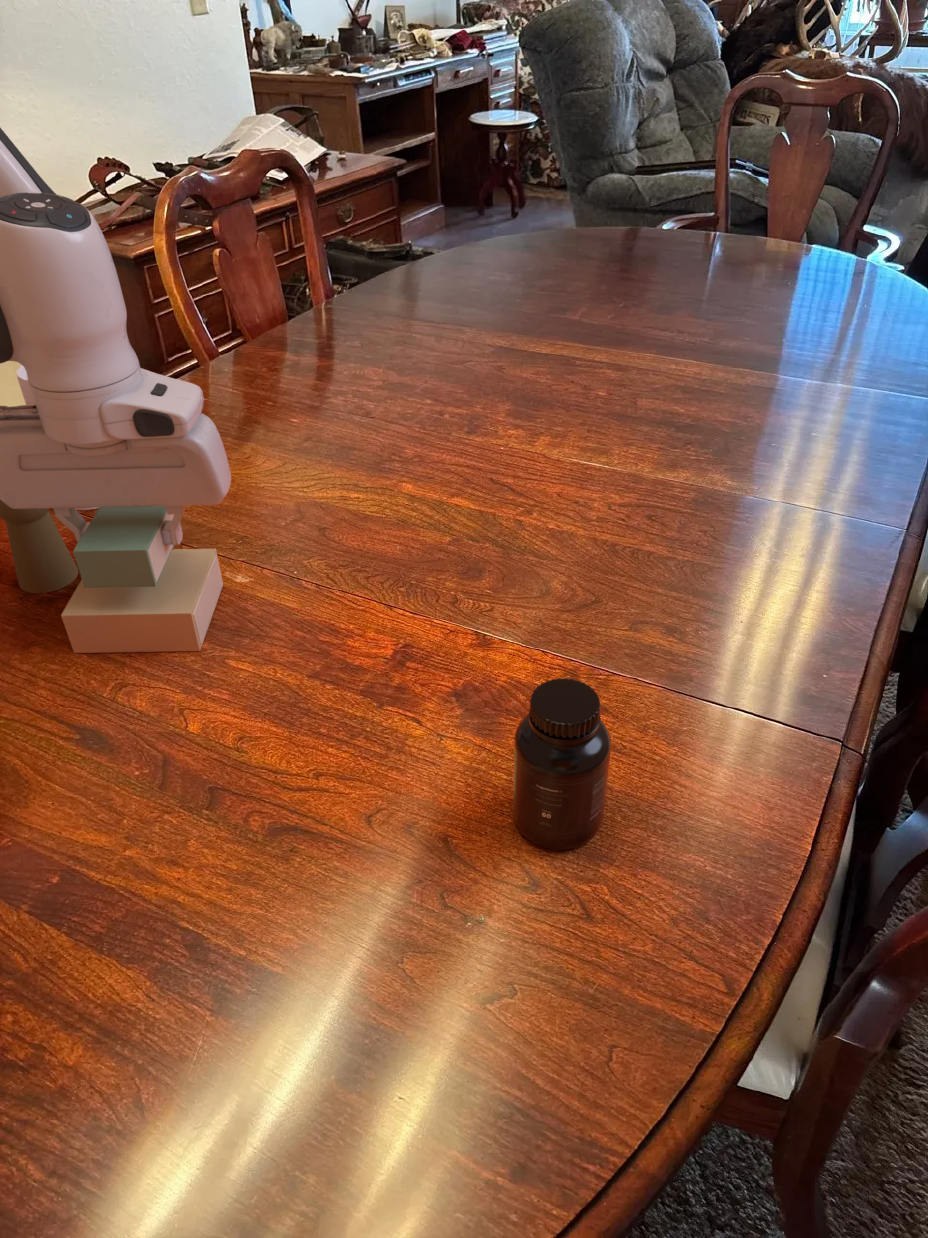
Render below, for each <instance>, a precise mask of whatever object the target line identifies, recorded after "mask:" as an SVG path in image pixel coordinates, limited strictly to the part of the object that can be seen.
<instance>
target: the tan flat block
mask: <svg viewBox="0 0 928 1238" xmlns="http://www.w3.org/2000/svg"><path fill="white" fill-rule="evenodd" d="M221 571H222V570H221V566H220V562H219V556H218V553H217V548H175V549H174V548H173V550H172V552H171V554H170V556H169V559H168V561H167V563H166V565H165V567H164V570H163V572H162V574H161V576H160V579H159V581H158V583H157V585H156V586H155V587H106V588H85V587H84V584H83V581H82V578H81V580H80V581H79V583H78V585H77V586H76V588H75V590H74V592H73V593H72V595H71V597H70V599H69V600H68V602H67V604H66V606H65V608H64V609H63V611H62V613H61V614H60V617H61V620H62V623H63V626H64V629H65V631H66V634H67V637H68V640H69V643H70V645H71V649H72V652H73V653H74V654H100V653H101V654H103V653H105V654H107V653H109V654H110V653H157V652H158V653H160V652H161V653H165V652H166V653H169V652H200V651H201V649H202V648H203V647H202V646H203V644H204V642H205V638H206V635H207V633H208V630H209V628H210V625H211V621H212V618H213V616H214V613H215V609H216V608H217V604H218V601H219V598H220V596H221V592H222V591H223V588H224V581H223V576H222V575H223V574H222V572H221Z"/></svg>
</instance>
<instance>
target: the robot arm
mask: <svg viewBox="0 0 928 1238" xmlns="http://www.w3.org/2000/svg"><path fill="white" fill-rule="evenodd" d="M26 158H27V157H25V156H24V154H23V153H22V152H21V151H20V150H19V148H18V147H17V146H16V145H15V144H14V142H13V141H12V140H11V139H10V137H9V136H8V135H7V134H6V132H5V130H3V129H2V127H0V364H4V363H7V362H16V363H18V364H20V366H22V365H23V367H24V368H25V370H26V373H27V378H28V382H29V386H30V389H31V392H32V395H33V398H34V401H35V404H36V405H26V404H23V405H14V406H7V405H0V500H1V501H3V502H4V503H5V504H6V505H7V506H9V507H10V508H12V509H43V508H49V509H53V512H54V516H55V518H56V519H57V520H58V521H59V522H60V523H62V524H63V525H64V526H65V527H66V528H67V529H68V530H70V532H71V533H73V534H74V537H75V540H76V543H77V544H78V542H79V540H80V539H81V537H82V535H83V534H84V532H85V531H86V529H87V527H88V526H89V524H90V522H91V521H87V520H86V519H85V518H84V516H82V515H81V513H80V512H78V510H76V509H75V508H93V507H142V506H165V507H166V511H167V514H168V515H173V514H174V516H173V519H172V520H169V521H164V523H163V526H162V527H161V530H160V533H161V536H162V538H163V544H164V545H174V546H177V545H181V543H182V541H183V537H184V534H183V527H182V524H180V523H181V521H182V519H183V517H184V514H185V511H186V509H187V507H189V506H217V505H219V504H221V503H222V501H223V500H224V499H225V498H226V497H227V495H228V492H229V490H230V488H231V483H232V474H231V468H230V464H229V461H228V457H227V456H228V455H227V452H226V449H225V445H224V443H223V441H222V437H221V435H220V432H219V430H218V428H217V426H216V423H214V422H213V420H212V419H211V418H210V417H209V416H208V415H206V414H204V413H202V411H203V408H204V403H205V397H204V393H203V390H202V388H201V387H200V386H199V385H197V384H195V383H192V382H189V381H186V380H182V379H177V378H173V377H170V376H166V375H163V374H160V373H156V372H153V371H150V370H148V369H144V368H142V367H141V365H140V360H139V358H138V355H137V354H136V353H137V352H136V351H135V350H134V348H133V347H132V345H131V342H130V340H129V339H130V338H129V336H128V332H127V322H128V321H127V318H128V314H127V313H128V312H127V311H128V310H127V306H126V302H125V299H124V298H125V297H124V294H123V291H122V286H121V283H120V279H119V275H118V271H117V268H116V265H115V262H114V260H113V255H112V253H111V251H110V247H109V245H108V243H107V240H106V238H105V235H104V234H103V231H102V230H101V227H100V226H99V223H98V222H97V220H96V218H95V217H94V216H93V213H92V212H91V211H90V210H89V209H88V208H87V207H86V206H84V205H83V204H81V203H80V202H77V201H75V200H74V199H73V198H70V197H67V196H64V195H60V194H57V193H56V192H55V191H53V190H54V189H52V188H51V186H49V185H48V184H47V183H46V181H45V180H44V178H42V177H41V176H40V174H39V173H38V172H37V171H36V169H35V168H34V167H33V165H31V163H30V162H29V161H28V160H27V159H26ZM181 527H182V528H181ZM77 544H76V545H77Z"/></svg>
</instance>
